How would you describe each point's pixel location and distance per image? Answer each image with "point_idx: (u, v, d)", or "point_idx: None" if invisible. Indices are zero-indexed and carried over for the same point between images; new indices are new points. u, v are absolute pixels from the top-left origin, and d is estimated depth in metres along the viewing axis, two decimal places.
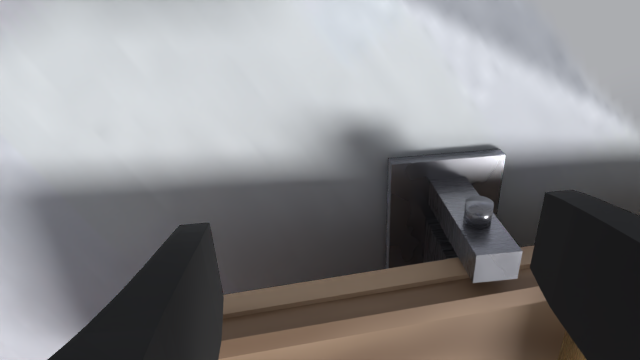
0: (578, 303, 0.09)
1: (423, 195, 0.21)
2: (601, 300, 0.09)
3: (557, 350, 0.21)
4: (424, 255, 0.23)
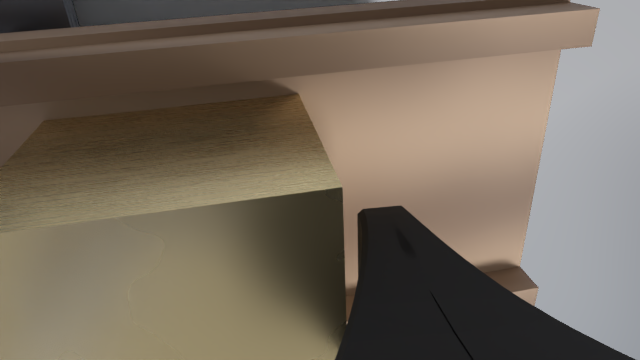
0: None
1: None
2: None
3: None
4: None
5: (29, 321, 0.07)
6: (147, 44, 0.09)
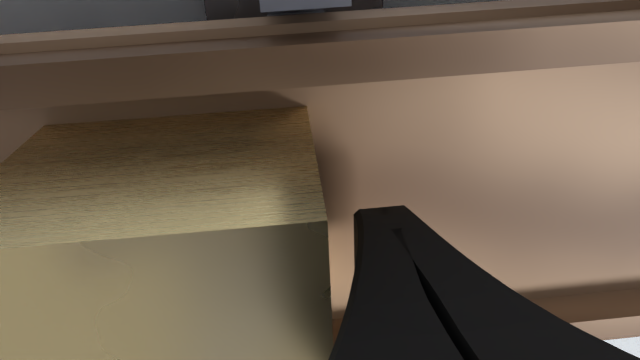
0: None
1: None
2: None
3: (476, 223, 0.12)
4: None
5: None
6: (586, 18, 0.09)
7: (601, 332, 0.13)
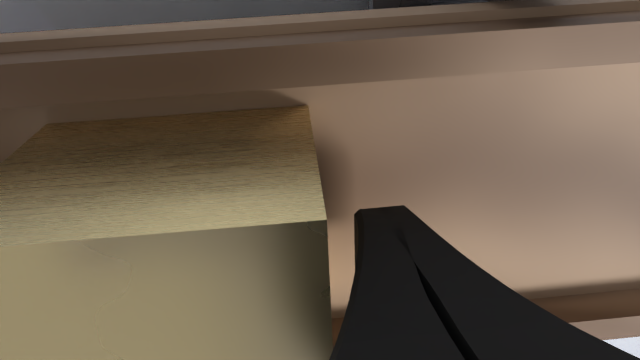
0: None
1: None
2: None
3: None
4: None
5: None
6: None
7: None
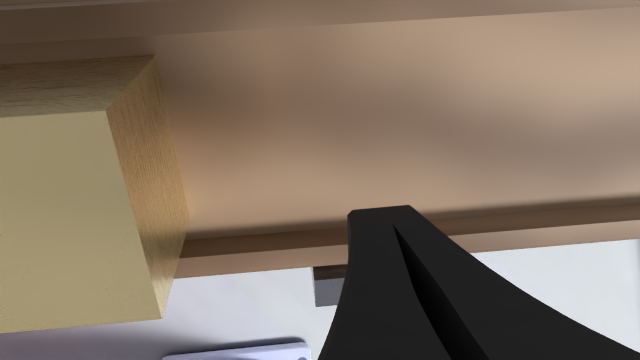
0: None
1: None
2: None
3: (454, 146, 0.15)
4: None
5: None
6: None
7: (554, 238, 0.16)
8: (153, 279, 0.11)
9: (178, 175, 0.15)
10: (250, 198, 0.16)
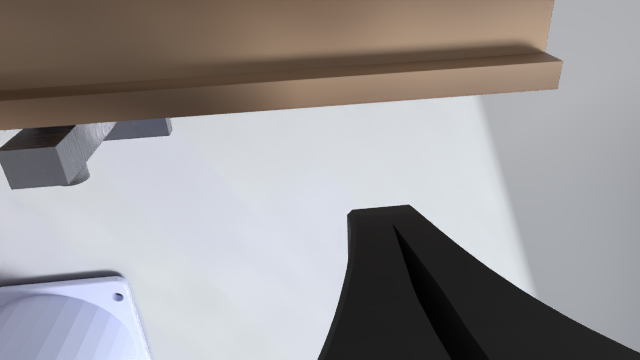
0: None
1: None
2: None
3: None
4: None
5: None
6: None
7: (294, 97, 0.13)
8: None
9: None
10: None
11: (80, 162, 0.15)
